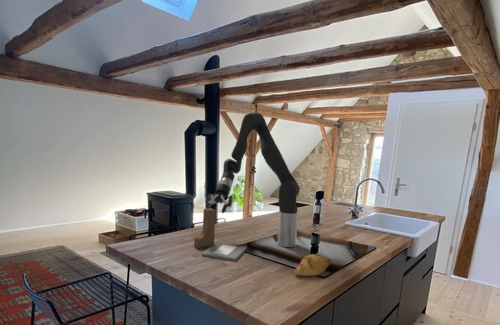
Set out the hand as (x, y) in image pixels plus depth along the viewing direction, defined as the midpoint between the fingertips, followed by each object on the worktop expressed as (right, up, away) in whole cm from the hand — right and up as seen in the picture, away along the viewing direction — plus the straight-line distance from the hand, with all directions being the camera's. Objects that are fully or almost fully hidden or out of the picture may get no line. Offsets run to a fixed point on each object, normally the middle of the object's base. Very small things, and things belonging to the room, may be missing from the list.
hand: (215, 211), depth 150 cm
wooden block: (-4, -16, -8) cm, 18 cm away
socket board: (+7, -16, -17) cm, 24 cm away
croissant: (+44, -19, -33) cm, 58 cm away
